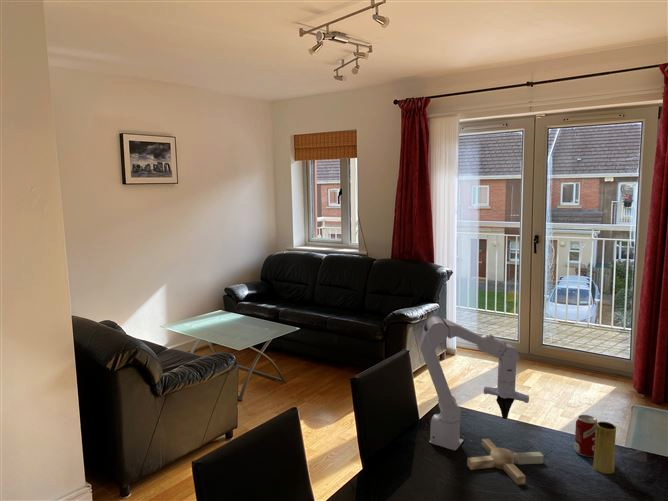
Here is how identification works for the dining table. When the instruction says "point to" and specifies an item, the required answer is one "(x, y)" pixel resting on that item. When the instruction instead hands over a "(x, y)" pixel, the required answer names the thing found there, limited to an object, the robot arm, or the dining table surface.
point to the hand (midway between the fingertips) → (505, 417)
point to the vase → (605, 448)
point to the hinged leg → (528, 458)
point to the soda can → (585, 435)
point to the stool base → (497, 461)
